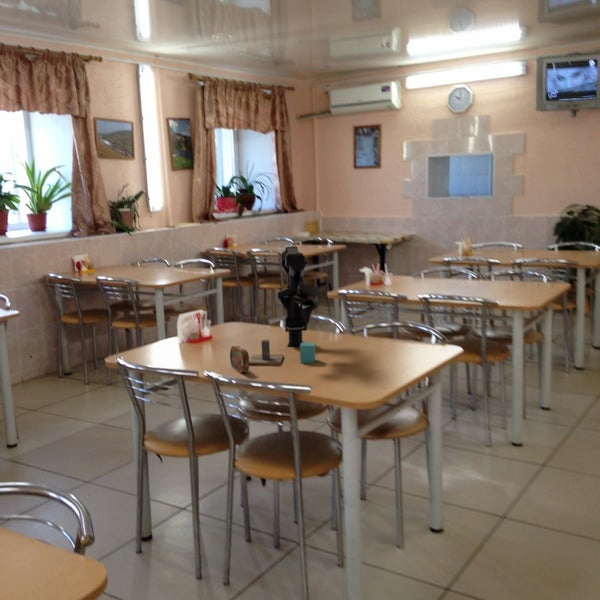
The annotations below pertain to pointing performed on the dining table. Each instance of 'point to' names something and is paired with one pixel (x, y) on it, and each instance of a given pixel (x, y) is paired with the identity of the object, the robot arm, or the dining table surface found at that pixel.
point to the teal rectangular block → (307, 352)
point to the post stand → (266, 356)
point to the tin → (239, 359)
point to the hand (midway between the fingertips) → (299, 321)
